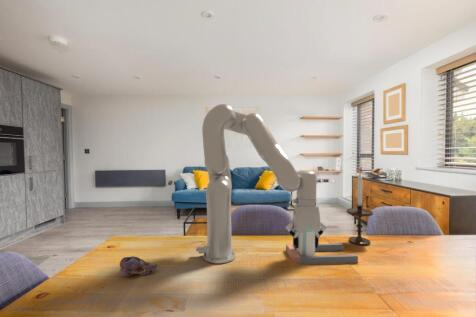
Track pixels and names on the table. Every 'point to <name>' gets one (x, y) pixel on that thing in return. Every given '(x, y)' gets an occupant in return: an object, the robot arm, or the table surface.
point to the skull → (136, 266)
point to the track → (321, 259)
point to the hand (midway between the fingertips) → (305, 246)
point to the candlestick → (359, 216)
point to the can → (306, 243)
